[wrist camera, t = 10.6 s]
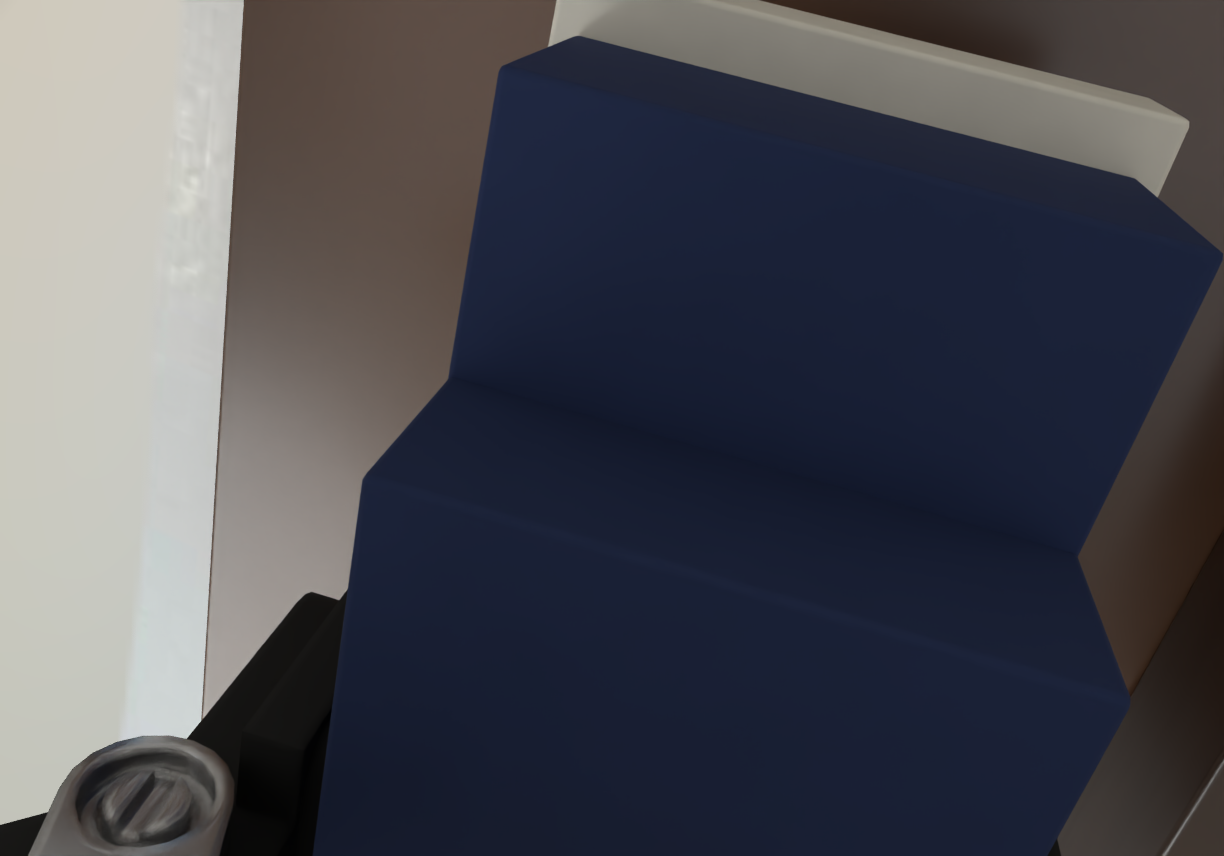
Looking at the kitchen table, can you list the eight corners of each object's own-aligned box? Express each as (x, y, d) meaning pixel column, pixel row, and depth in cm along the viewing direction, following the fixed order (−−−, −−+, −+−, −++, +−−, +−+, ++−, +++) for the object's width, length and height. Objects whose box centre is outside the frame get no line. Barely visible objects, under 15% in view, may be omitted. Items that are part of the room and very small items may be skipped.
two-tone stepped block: (412, 886, 15) (232, 1291, 11) (592, -43, 10) (383, -18, 5) (766, 1000, 15) (734, 1471, 10) (1153, 98, 9) (1441, 255, 5)
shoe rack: (333, 643, 25) (111, 959, 17) (470, -447, 16) (132, -777, 8) (944, 830, 24) (991, 1253, 16) (1464, -223, 15) (2110, -370, 7)
